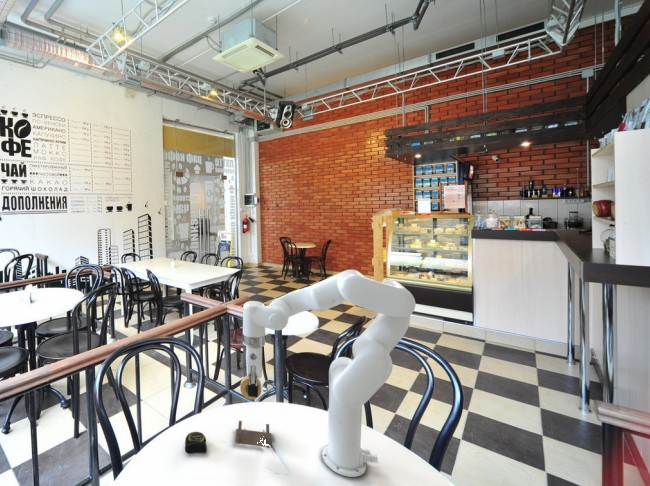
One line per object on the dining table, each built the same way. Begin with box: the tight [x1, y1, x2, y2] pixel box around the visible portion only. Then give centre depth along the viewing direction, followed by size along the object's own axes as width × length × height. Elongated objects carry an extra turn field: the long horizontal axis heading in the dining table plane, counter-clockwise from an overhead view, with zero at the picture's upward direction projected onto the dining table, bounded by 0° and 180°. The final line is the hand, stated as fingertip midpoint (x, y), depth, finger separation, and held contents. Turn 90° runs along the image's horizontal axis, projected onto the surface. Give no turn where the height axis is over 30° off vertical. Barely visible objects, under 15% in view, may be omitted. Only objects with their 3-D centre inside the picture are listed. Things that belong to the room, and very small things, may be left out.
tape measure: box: [184, 431, 207, 454], centre depth 106 cm, size 7×7×4 cm
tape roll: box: [239, 375, 262, 401], centre depth 111 cm, size 7×3×7 cm, turn 82°
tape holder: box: [234, 420, 273, 448], centre depth 110 cm, size 12×7×4 cm, turn 81°
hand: (253, 392), depth 111 cm, fingers closed on tape roll, 2 cm apart
